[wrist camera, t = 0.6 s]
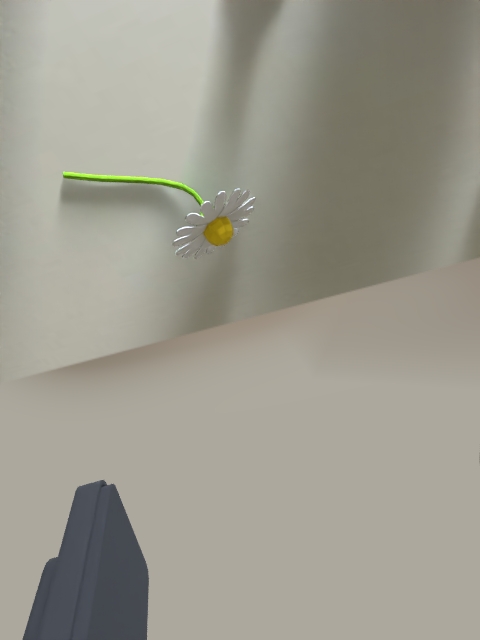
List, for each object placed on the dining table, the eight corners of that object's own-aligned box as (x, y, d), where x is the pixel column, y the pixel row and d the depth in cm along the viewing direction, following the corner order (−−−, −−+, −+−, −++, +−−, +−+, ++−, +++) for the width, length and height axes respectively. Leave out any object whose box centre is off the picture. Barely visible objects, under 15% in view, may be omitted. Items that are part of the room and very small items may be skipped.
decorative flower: (41, 204, 26) (270, 216, 29) (52, 131, 28) (261, 149, 31) (66, 268, 33) (249, 273, 36) (73, 205, 35) (243, 214, 38)
